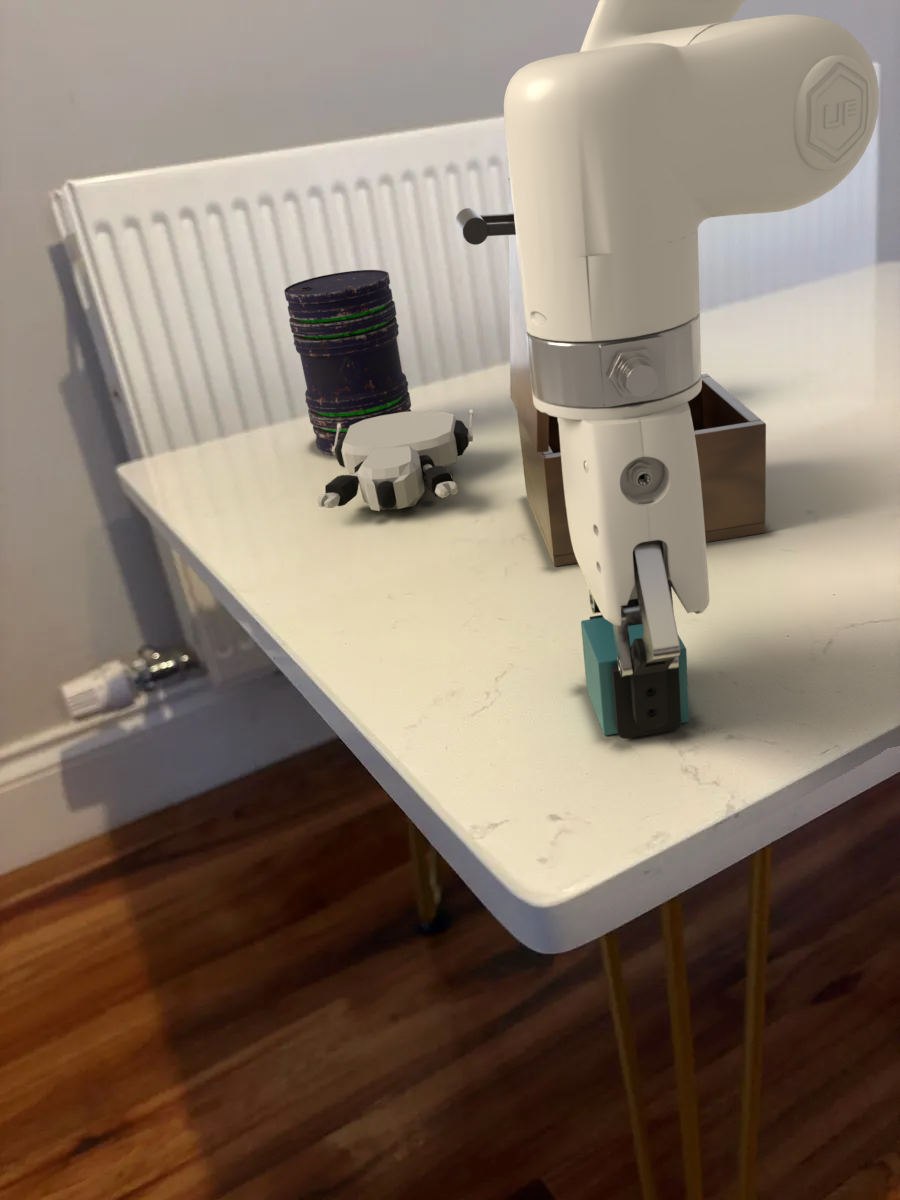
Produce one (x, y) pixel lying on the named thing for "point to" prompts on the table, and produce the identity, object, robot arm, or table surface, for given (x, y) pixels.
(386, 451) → the robot toy
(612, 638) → the cube
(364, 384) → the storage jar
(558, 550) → the box
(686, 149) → the robot arm
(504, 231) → the lid
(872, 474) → the table surface
